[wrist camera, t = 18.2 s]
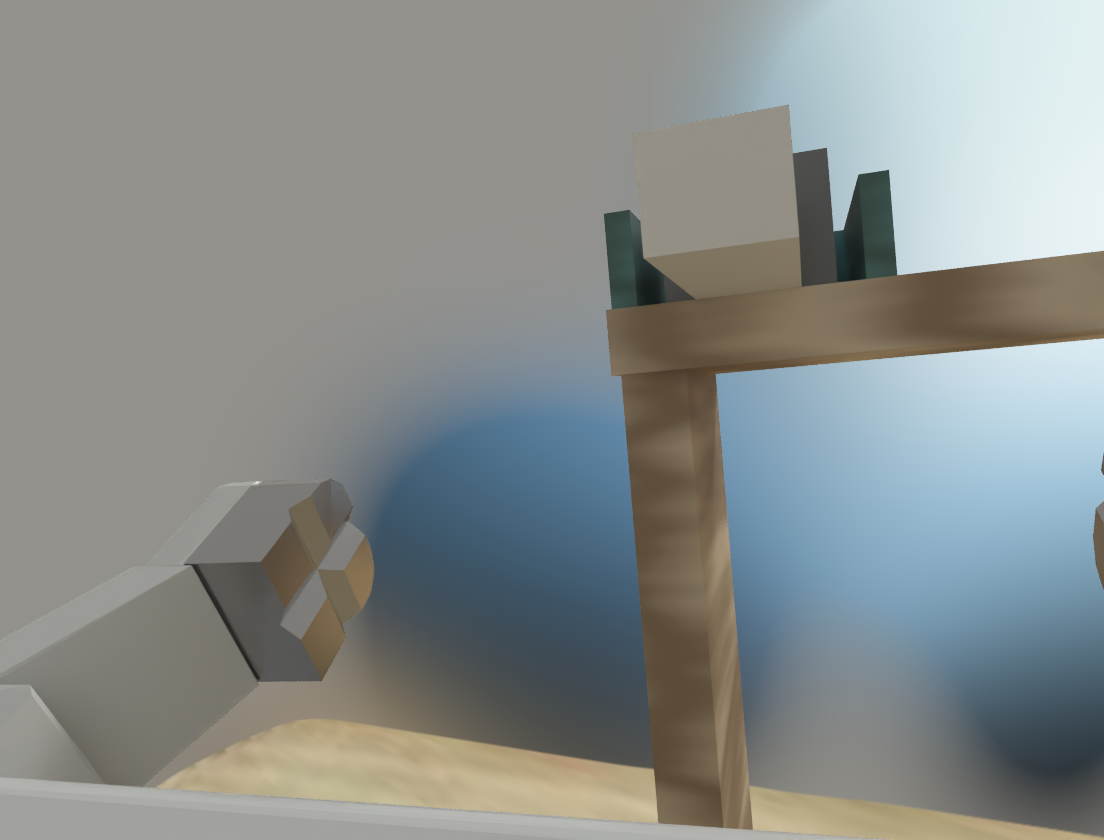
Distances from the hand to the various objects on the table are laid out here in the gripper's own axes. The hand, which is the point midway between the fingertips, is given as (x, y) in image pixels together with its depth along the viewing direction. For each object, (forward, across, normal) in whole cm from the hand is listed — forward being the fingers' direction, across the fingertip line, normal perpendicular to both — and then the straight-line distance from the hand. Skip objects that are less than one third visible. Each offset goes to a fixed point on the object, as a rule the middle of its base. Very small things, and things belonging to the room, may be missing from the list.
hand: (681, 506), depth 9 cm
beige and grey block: (+15, 0, +4) cm, 16 cm away
